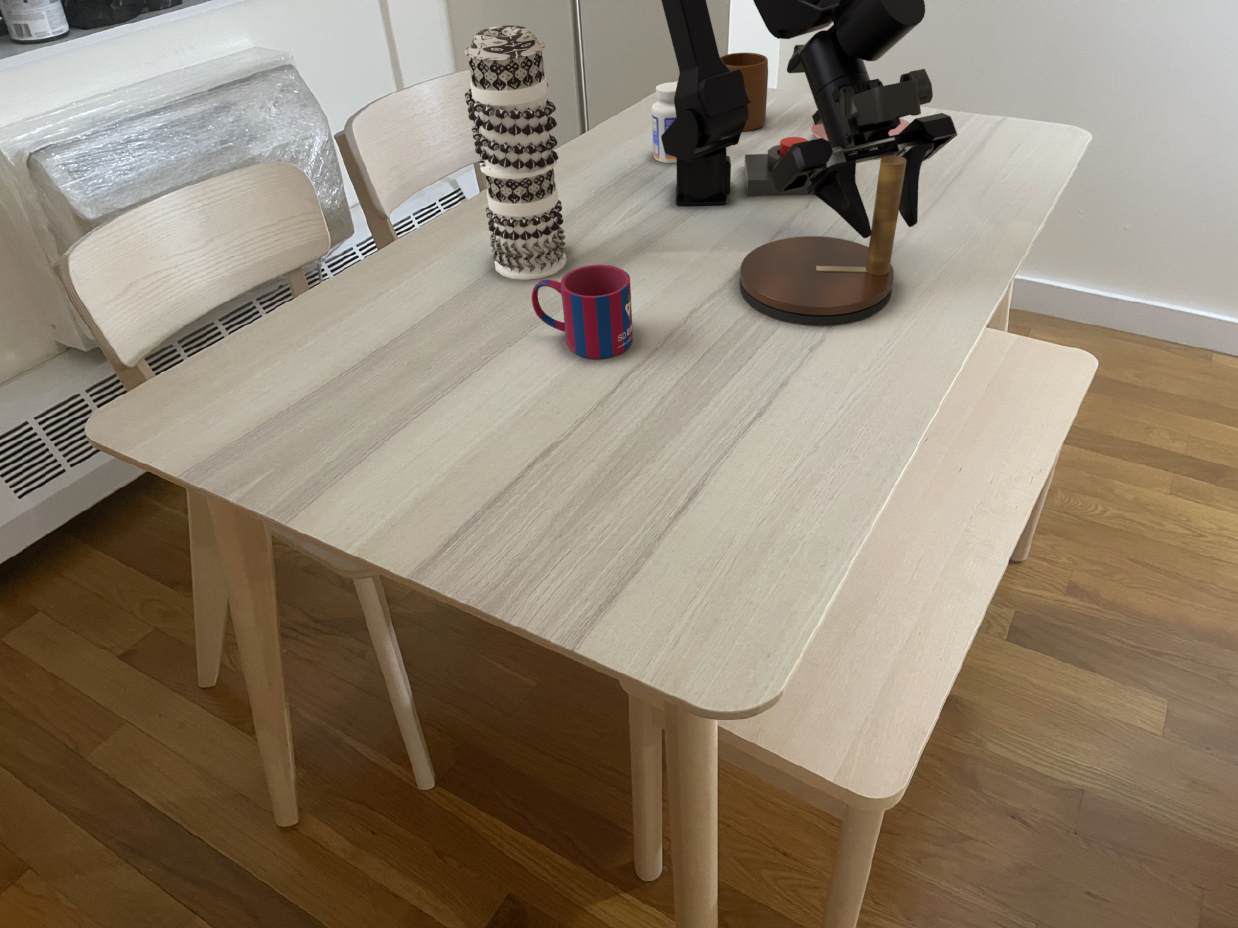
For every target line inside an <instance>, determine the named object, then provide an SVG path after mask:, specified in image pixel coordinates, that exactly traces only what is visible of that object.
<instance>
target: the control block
mask: <svg viewBox="0 0 1238 928" xmlns="http://www.w3.org/2000/svg"><path fill="white" fill-rule="evenodd" d="M779 152H780V144H777V145H774V146H772V147H770V148H769V149H768V150H767V153H758V154H757V153H754V154H750V153H749V154H744V168H743V171H744V179H745V186H746V196H747V197H774V196H775V197H777V196H779V197H780V196H781V197H782V196H808V195H807V193H806V189H807V188H808V187H809V186H810V185H811V182H810V179H809V175H808V174H807V177H808V179H807V181H806V183H805V185H804V187H803V188H802V189H799V190H794V191H790V192H785V193H781V194H779V193H777V191H776V188H775V185H774V182H773V179H772V173H773V168H774V166H775V164H776V163H777V162H778V161H779V160H780V158H781V157H782V156H780V155H779ZM811 196H815V195H814V194H812V195H811Z"/></svg>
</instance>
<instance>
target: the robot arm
mask: <svg viewBox="0 0 1238 928" xmlns="http://www.w3.org/2000/svg"><path fill="white" fill-rule="evenodd" d="M752 1H753V4H754V5H755V7H756V9H757V11H758V13H759V15H760V17H761V19H762V21H763V23H764V26H765V28H766V29H767V30H768V32H769V33H770V34H771V35H772V36H773V37H774V38H776V39H777V40H790V39H794V38H797V37H800V36H804V35H807V34H810V33H813V32H816V33H814V34H813V35H812V36H811V38H809V39H808V41H806V42H805V44H795V45H794V46H793V52H792V56H791V57H790V58H789V59H788V63H787V67H786V73H788V74H802V73H804V75H805V77H806V80H807V83H808V86H809V89H810V93H811V95H812V98H813V100H814V103H815V107H816V109H817V110H816V111H815V112H814V114H812V116H811V117H812V120H813V123H814V124H815V125H819V124H823V127H824V130H825V133H826V136H827V138H828V141H827V140H825V139H823V138H820V139H817V138H816V139H810V140H808V141H805V142H800V143H796V144H792V146H791V147H790V148H789V149H788V150H787V151H786V153H785V154H784V155H783V156H782V157H781V158H780V160H779V161H778V162H777V163H776V164H775V166H774V168H773V173H772V179H773V182H774V185H775V188H776V191H777V193H779V194H781V193H785V192H790V191H794V190H799V189H802V188H803V187H804V185H805V183H806V181H807V179H808V177H807V174H808V175H809V179H810V182H811V185H810V186H809V187H808V188H807V189H806V193H807V195H806V196H815V197H816V198H818V199H819V200H821V201H822V202H824V204H825V205H827V206H828V207H830V208H831V209H832V210H833V211H835V213H837V214H838V216H840V218H842V219H843V220H844V221H845V222H846V224H848V225H849V226H850V227H851V228H852V229H853V230H854V231H855V232H856V233H857V234H859V236H860V237H862V238H863V239H867V238H870V235H871V234H872V232H871V227H872V226H871V223H870V219H869V215H868V213H867V211H866V208H865V204H864V203H863V199H862V196H861V194H860V191H859V188H858V185H857V181H856V173H857V171H856V170H857V164H859V163H865V162H869V161H873V160H878V159H881V158H883V157H885V156H891V155H894V156H901V157H903V158H905V159H906V167H905V174H904V180H903V186H902V193H901V199H900V205H899V212H898V213H899V214H900V216H901V217H902V219H903V220H904V222H905V224H906V225H907V226H908V227H909V228H913V227H914V226H916V225H917V224H918V217H919V215H918V213H919V183H920V182H919V180H920V172H921V167H922V164H923V162H924V161H927V160H929V159H931V158H932V157H933V156H934V155H935V154H936V153H938V152H939V151H940V150H942V149H943V148H944V147H945V146H946V145H948V144H949V143H950V142H951V141H952V140H954V139H955V138H956V137H957V136H958V135H959V134H958V131H957V129H956V126H955V123H954V121H953V118H952V116H951V115H948V114H947V113H945V112H939V113H935V114H930V115H925V116H920V117H916V116H919V115H921V114H922V111H921V110H922V109H921V106H923V105H926V104H930V103H931V102H932V100H933V97H934V92H933V85H932V82H931V79H930V77H929V74H928V73H927V71H926V69H925V68H921V69H916V70H911V71H909V72H906V73H902V74H901V75H900V77H899V82H896V83H891V84H885V85H884V83H883V81H881V80H880V78H873V79H871V78H870V75H869V72H868V70H867V68H866V64H865V62H876V61H878V60H880V59H881V58H882V57H883V56H884V55H885V54H886V53H888V51H890V50H891V49H892V48H893V47H895V46H896V45H897V44H898V43H899V42H900V41H901V40H902V39H903V38H904V37H906V36H907V35H908V34H909V33H910V32H911V31H912V30H914V29H915V28H916V27H917V26H918V25H920V23H921V22H922V21H923V20H924V18H925V14H926V3H925V0H752ZM661 5H662V9H663V12H664V16H665V20H666V24H667V28H668V32H669V35H670V40H671V43H672V47H673V50H674V55H675V58H676V63H677V67H678V72H679V74H678V77H677V82H676V83H677V87H676V92H675V96H674V104H675V111H676V117H677V118H676V119H675V120H674V122H673V123H672V124H671V125H670V126H669V127H668V129H667V130H666V131H665V132H664V133H663V134H662V136H661V139H662V143H663V148H664V152H665V153H666V154H668V155H671V156H674V157H676V163H675V165H676V184H675V206H681V207H682V206H720V205H721V206H723V205H727V202H728V199H727V198H728V197H727V196H729V195H730V194H731V181H732V180H731V175H732V174H731V173H732V162H731V161H732V160H731V159H732V158H731V157H730V155H727V153H728V152H727V148H729V147H733V146H736V145H738V144H739V142H740V138H741V136H742V130H743V129H744V127H745V124H746V121H748V115H749V113H748V106H747V104H750V100H749V98H748V96H747V94H746V91H745V86H744V78H743V74H742V72H741V70H740V69H736V70H733V71H731V70H730V69H729V68H728V67H727V66H726V65H725V64H724V63H723V61H722V60H721V59H720V57H721V56H720V53H719V48H718V45H717V41H716V36H715V31H714V28H713V24H712V23H713V22H712V20H711V15H710V11H709V7H708V3H707V0H661ZM831 24H832V25H831ZM830 25H831V26H830ZM829 26H830V27H829ZM827 27H829V28H828V29H825V28H827ZM824 29H825V30H824ZM864 61H865V62H864ZM908 116H911V117H916V118H914V119H913V120H912V121H911V122H909V123H910V124H909V125H908V126H907V127H906V128H905V129H903V130H902V131H901V132H900V133H899V134H897V135H892V136H889V133H888V132H889V131H890V130H893V129H895V128H896V127H898V126H899V125H900V124H901V122H900V119H899V118H905V117H908ZM876 148H878V149H876ZM874 149H875V150H874ZM812 194H814V195H812Z"/></svg>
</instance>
